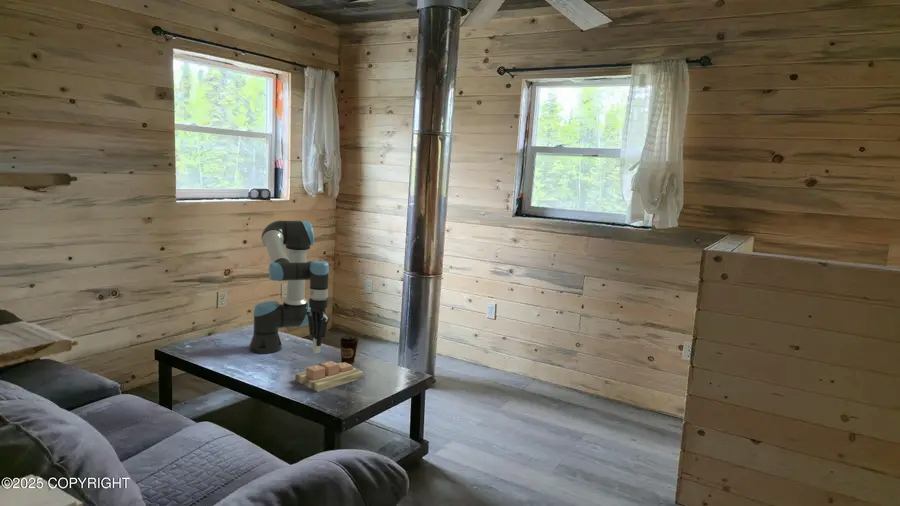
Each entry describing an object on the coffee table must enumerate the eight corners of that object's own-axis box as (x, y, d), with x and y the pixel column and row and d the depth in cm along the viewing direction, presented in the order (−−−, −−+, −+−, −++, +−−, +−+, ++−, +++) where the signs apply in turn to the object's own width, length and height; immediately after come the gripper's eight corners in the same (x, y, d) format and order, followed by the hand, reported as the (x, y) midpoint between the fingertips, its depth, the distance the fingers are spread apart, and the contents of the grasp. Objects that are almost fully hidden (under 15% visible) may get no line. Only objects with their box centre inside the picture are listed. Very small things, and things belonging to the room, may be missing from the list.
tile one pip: (306, 377, 235) (306, 366, 235) (317, 374, 240) (317, 364, 239) (313, 381, 232) (314, 370, 231) (324, 378, 236) (325, 367, 235)
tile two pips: (320, 373, 241) (321, 363, 240) (331, 370, 245) (331, 360, 245) (328, 377, 238) (328, 366, 237) (339, 374, 242) (339, 363, 241)
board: (295, 380, 238) (295, 373, 237) (340, 368, 256) (340, 361, 256) (317, 391, 228) (317, 384, 227) (362, 378, 246) (363, 371, 245)
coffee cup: (352, 367, 258) (354, 340, 256) (336, 364, 260) (337, 338, 258) (359, 361, 267) (360, 335, 265) (343, 359, 268) (344, 333, 266)
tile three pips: (334, 374, 247) (334, 364, 246) (344, 371, 251) (344, 361, 251) (342, 378, 243) (342, 367, 243) (352, 375, 248) (352, 365, 247)
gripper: (301, 296, 232) (300, 350, 235) (320, 302, 224) (318, 358, 227) (316, 294, 238) (314, 347, 241) (335, 300, 229) (333, 354, 233)
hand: (316, 352), depth 234 cm, fingers closed
